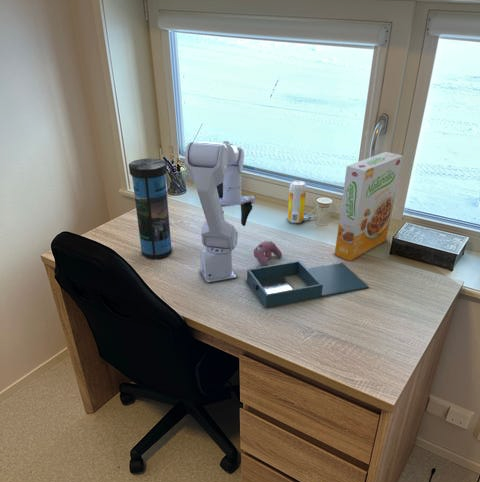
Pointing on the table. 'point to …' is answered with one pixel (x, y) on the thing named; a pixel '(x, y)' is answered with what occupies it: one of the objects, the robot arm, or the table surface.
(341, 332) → the table surface
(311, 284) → the box
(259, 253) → the video game controller
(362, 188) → the cereal box
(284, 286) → the silver plate
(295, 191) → the beer can
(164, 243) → the advertising column
